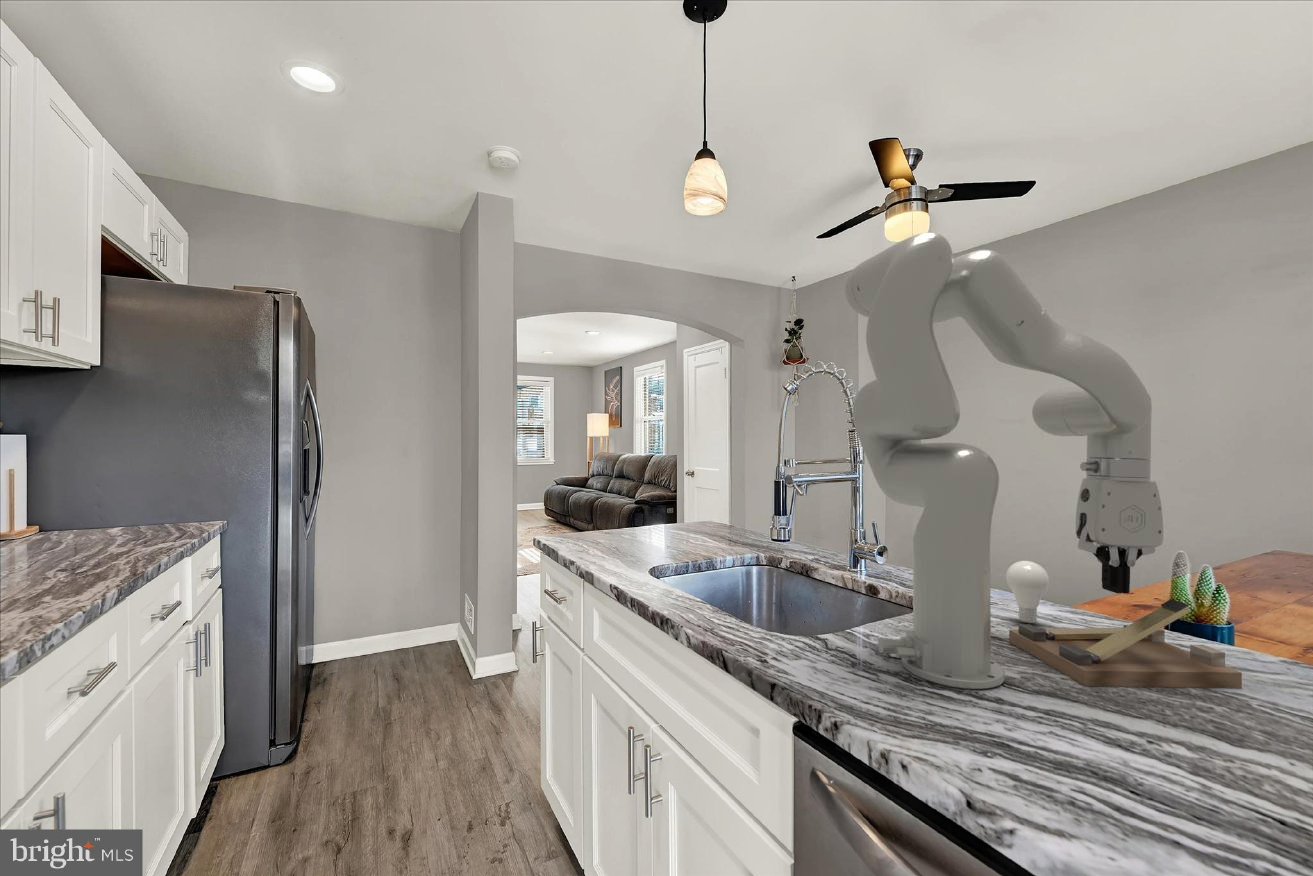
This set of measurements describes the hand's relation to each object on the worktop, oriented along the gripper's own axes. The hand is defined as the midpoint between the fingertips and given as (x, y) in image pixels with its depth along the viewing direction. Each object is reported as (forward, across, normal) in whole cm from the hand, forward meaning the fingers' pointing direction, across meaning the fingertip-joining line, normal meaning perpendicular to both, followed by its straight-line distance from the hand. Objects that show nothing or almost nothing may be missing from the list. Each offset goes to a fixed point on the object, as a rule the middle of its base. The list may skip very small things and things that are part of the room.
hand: (1115, 591), depth 84 cm
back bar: (+7, -3, 0) cm, 8 cm away
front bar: (+4, -4, -9) cm, 10 cm away
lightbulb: (+10, -4, +13) cm, 17 cm away
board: (+9, -4, -4) cm, 11 cm away
